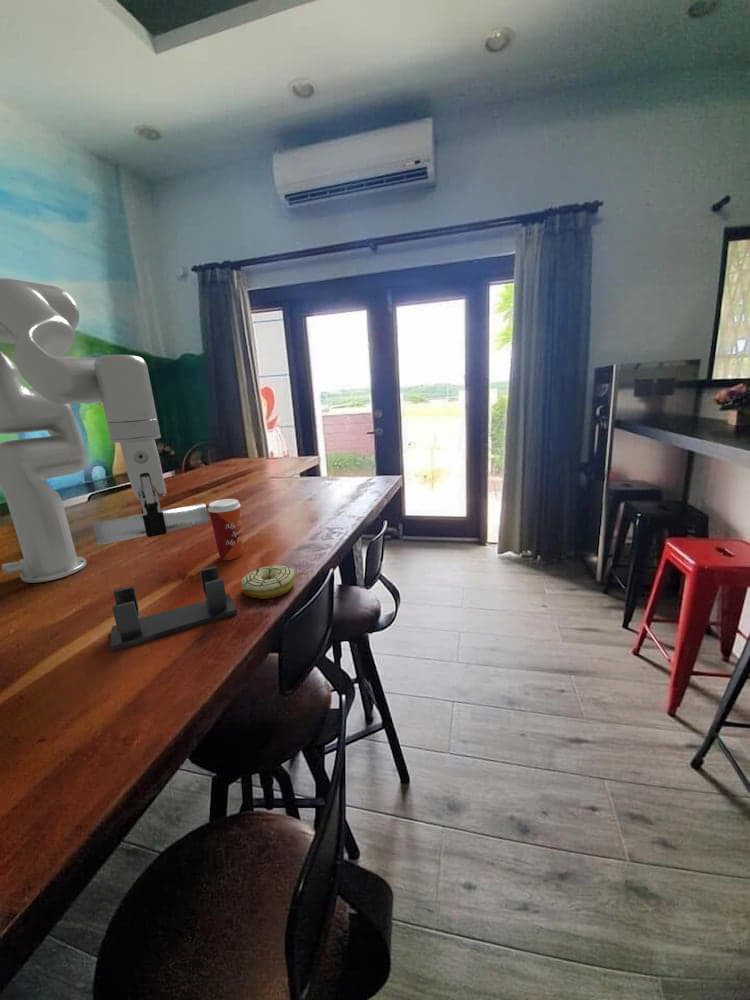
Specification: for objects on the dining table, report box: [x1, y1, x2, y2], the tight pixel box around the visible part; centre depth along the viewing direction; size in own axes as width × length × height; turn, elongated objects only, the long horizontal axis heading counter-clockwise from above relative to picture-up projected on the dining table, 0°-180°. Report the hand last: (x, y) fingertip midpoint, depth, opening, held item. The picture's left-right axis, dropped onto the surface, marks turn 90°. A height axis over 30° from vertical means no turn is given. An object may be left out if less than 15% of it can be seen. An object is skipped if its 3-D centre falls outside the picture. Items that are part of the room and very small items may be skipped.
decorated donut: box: [240, 564, 296, 600], centre depth 84 cm, size 10×11×4 cm
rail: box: [92, 502, 210, 546], centre depth 74 cm, size 18×4×4 cm, turn 121°
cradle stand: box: [109, 565, 238, 653], centre depth 73 cm, size 20×7×8 cm, turn 120°
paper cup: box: [207, 498, 244, 561], centre depth 101 cm, size 8×8×14 cm
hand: (155, 530), depth 75 cm, fingers closed on rail, 4 cm apart
